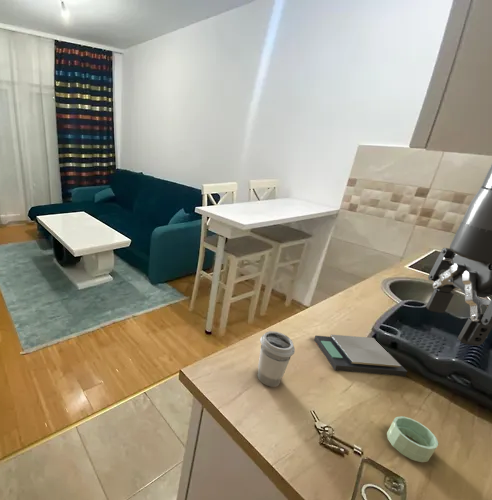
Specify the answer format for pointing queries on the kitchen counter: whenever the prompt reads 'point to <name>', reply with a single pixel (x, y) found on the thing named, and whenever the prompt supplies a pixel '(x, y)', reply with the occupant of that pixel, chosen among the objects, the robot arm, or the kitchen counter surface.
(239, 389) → the kitchen counter surface
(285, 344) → the cup
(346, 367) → the scale
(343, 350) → the scale pan
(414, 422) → the bowl
